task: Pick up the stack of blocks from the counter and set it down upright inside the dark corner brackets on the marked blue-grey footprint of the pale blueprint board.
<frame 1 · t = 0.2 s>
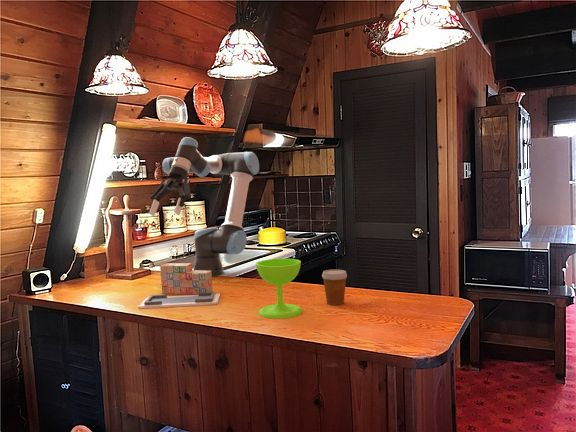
hand: (163, 214, 202), 35 cm above the counter, tool tilted 35°, fingers open, 13 cm apart
disposable coffee cup: (335, 303, 187), on the counter
wineglass: (280, 312, 178), on the counter
stack of blocks: (187, 293, 215), on the counter
blueprint board: (180, 301, 198), on the counter
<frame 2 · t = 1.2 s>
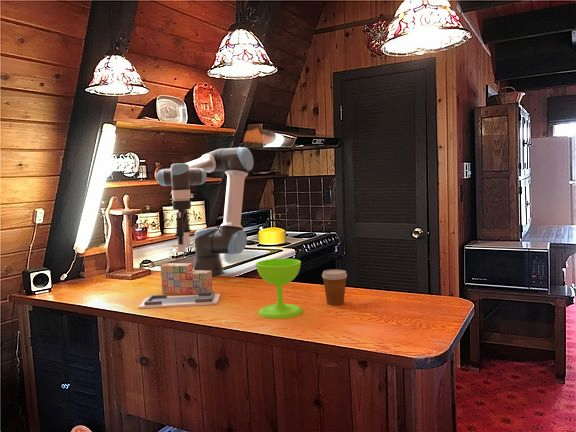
hand: (184, 249, 213), 19 cm above the counter, tool pointing down, fingers open, 13 cm apart
nothing on the counter moved.
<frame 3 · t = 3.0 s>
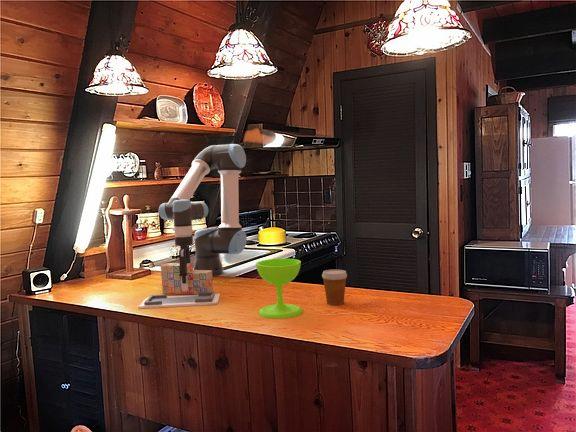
hand: (186, 288, 214), 2 cm above the counter, tool pointing down, fingers closed on stack of blocks, 8 cm apart
stack of blocks: (187, 292, 214), on the counter, touching gripper
everything else where it was.
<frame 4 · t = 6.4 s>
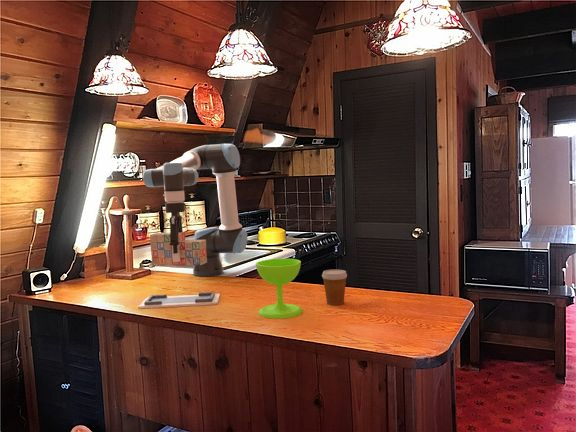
hand: (178, 259, 197), 17 cm above the counter, tool pointing down, fingers closed on stack of blocks, 8 cm apart
stack of blocks: (179, 264, 197), point 15 cm above the counter, touching gripper
everything else where it was.
when the fingers open (4 cm above the counter, at t = 9.5 s): stack of blocks stays where it is, resting on blueprint board.
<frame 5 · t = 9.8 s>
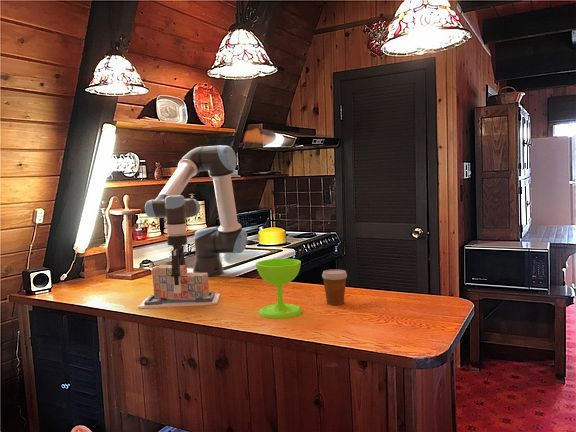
hand: (180, 289, 198), 5 cm above the counter, tool pointing down, fingers open, 11 cm apart
stack of blocks: (181, 297, 198), point 2 cm above the counter, touching blueprint board
everything else where it was.
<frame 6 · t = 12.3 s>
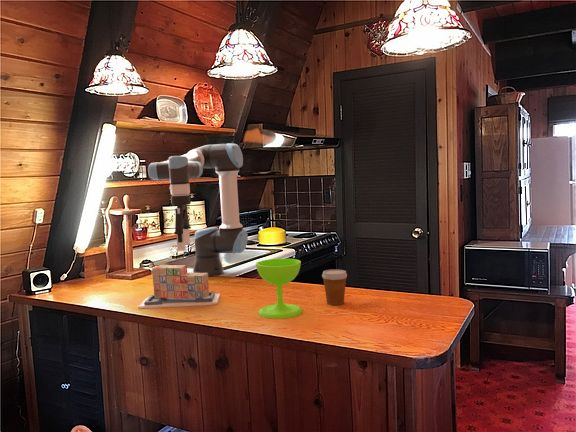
hand: (184, 247, 201), 21 cm above the counter, tool pointing down, fingers open, 13 cm apart
nothing on the counter moved.
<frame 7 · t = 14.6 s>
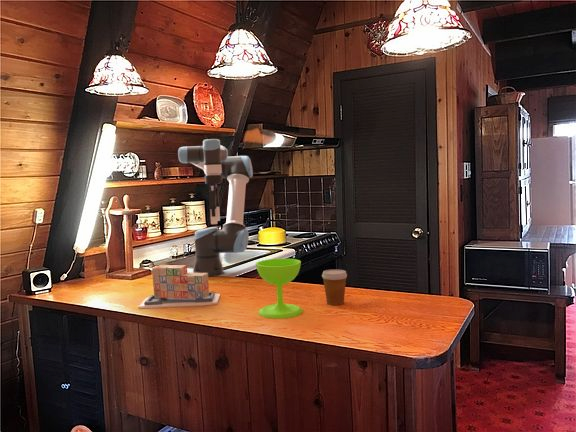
hand: (215, 222, 221), 29 cm above the counter, tool pointing down, fingers open, 13 cm apart
nothing on the counter moved.
at the end: stack of blocks 0.5 cm off-centre on the blueprint board, point 1.8 cm above the blueprint board's base; stack of blocks tilted 0°; the gripper is holding nothing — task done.
